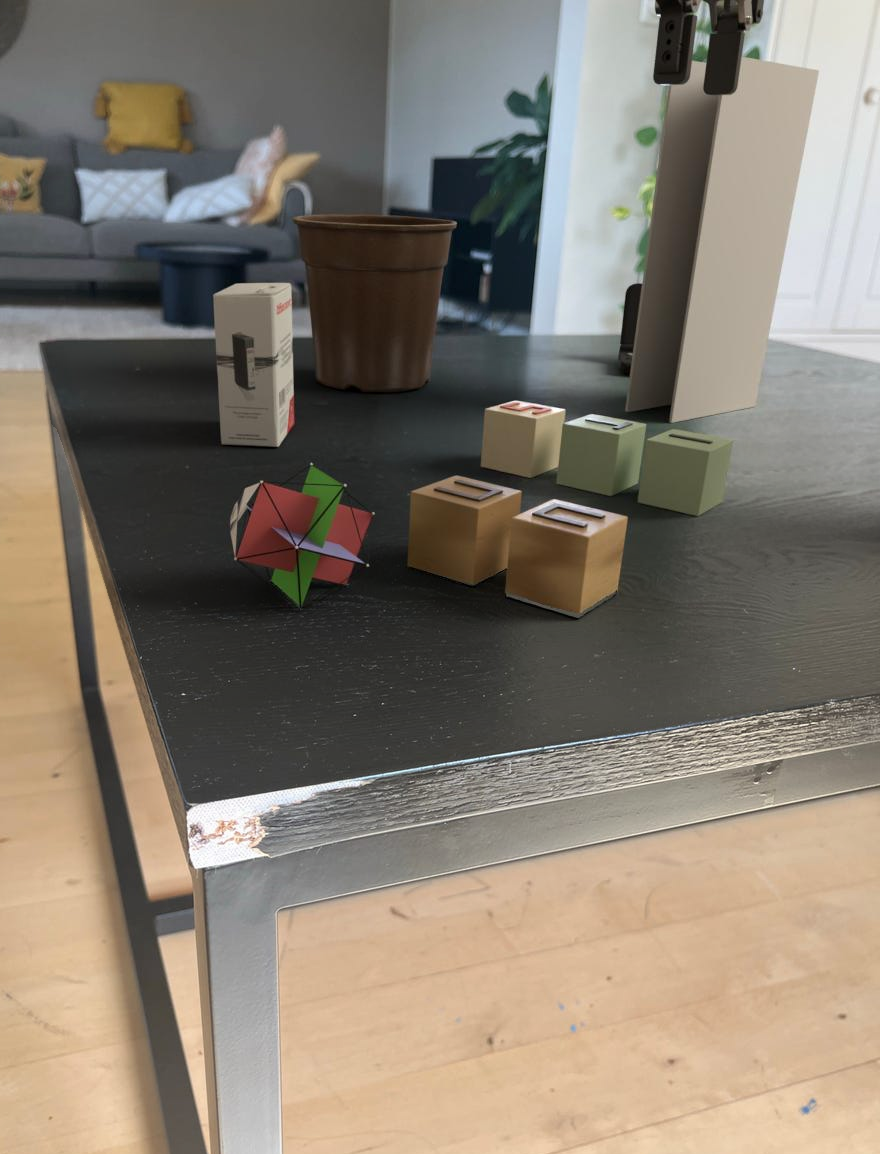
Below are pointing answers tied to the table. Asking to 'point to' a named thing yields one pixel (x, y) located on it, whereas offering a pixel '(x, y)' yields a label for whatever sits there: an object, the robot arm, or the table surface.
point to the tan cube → (461, 528)
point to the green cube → (600, 454)
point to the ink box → (254, 363)
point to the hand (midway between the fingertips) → (696, 90)
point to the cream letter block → (522, 438)
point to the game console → (629, 326)
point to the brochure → (718, 238)
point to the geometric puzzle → (301, 533)
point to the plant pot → (373, 297)
